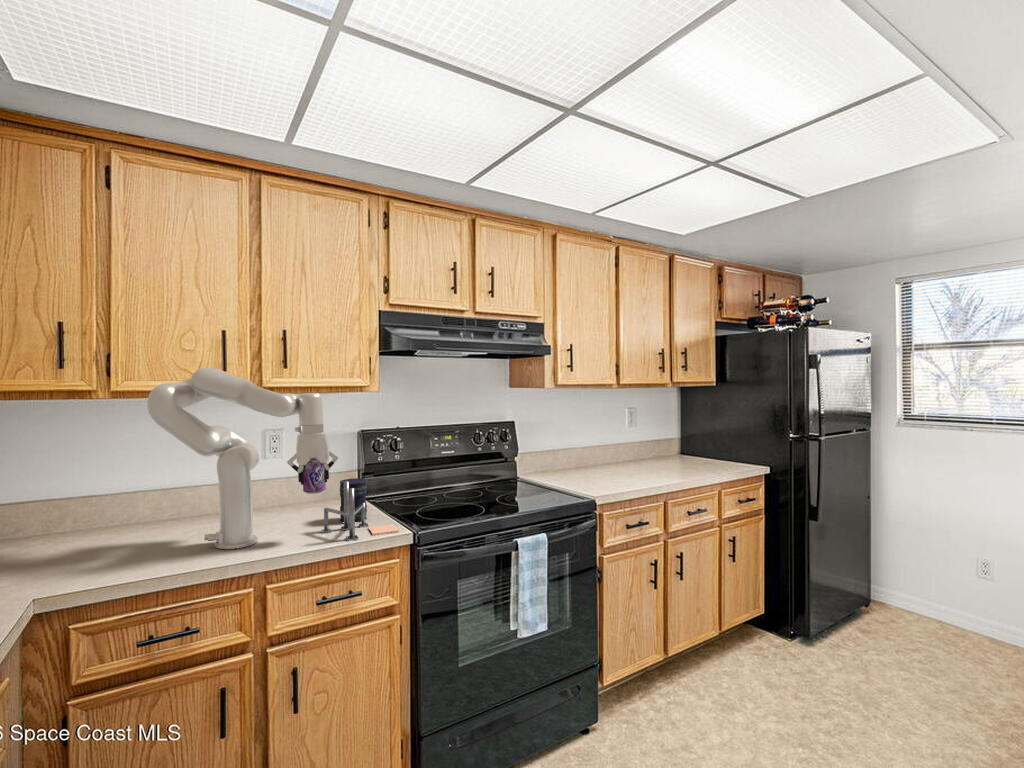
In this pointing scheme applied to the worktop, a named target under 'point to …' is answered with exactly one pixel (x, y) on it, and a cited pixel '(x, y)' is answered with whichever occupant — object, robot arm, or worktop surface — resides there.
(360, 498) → the dark purple cylinder
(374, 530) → the plate
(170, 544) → the worktop surface
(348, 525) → the grey open angular frame
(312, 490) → the beverage can
